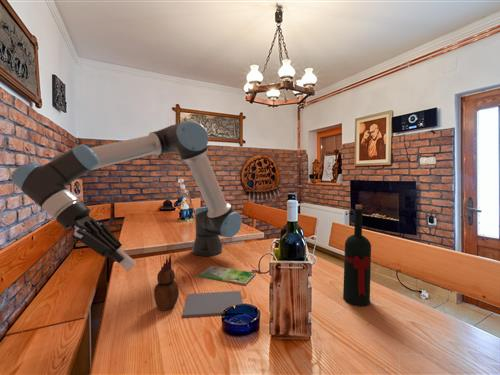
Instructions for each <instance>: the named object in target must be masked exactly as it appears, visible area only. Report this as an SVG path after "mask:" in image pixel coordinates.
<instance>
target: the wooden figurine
mask: <svg viewBox="0 0 500 375" xmlns="http://www.w3.org/2000/svg"><path fill="white" fill-rule="evenodd" d="M156 276H157V279H156V280H157V282H158V283H157V284H156V285H155V286H154V289H153V298H154V301H155V302H154V303H155V305H156V308H157V309H159V310H161V311H166V310H170V309H172V308H173V307H174V306H175V305H176V303H178V302H177V301H178V299H179V294H180V293H179V292H180V291H179V290H180V289H179V285H178V282H177V281H176V280H175V278H176V273H175V271H174V269H173V268H172V255H171V254H170V255H169V257H168V258H165V262H164V263H163V266H161V270H159V271H158V273H157V275H156Z"/></svg>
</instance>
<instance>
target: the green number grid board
mask: <svg viewBox="0 0 500 375" xmlns="http://www.w3.org/2000/svg"><path fill="white" fill-rule="evenodd" d="M250 272H251V271H247V270H240V269H233V268H228V267H223V266H217V265H216V266H215V265H210V266H209V267H208V268H206V269H205V270H204V271H202V272H200V273H199V274H198V277H200V278H204V279H205V278H206V279H208V280H215V281H220V282H221V281H222V282H224V283H225V282H226V283H231V284H235V285H241V286H245V287H246V286H247V285H248V284H249V283H250V280H251V279H252V280H253V279H254V277H255V276H256V275H257V273H256V272H253V274H250ZM255 274H256V275H255ZM254 275H255V276H254ZM253 276H254V277H253ZM252 280H251V281H252Z"/></svg>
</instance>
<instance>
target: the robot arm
mask: <svg viewBox="0 0 500 375" xmlns="http://www.w3.org/2000/svg"><path fill="white" fill-rule="evenodd" d="M208 144H209V134H208V132H207V130H206V128H205V126H203V124H202V123H199V121H195V120H185V121H184V120H183V121H181V122H178V123H175V124H172V125H169V126H167V127H164V128H162V129H159V130H156V131H152V132H149V133H148V134H147V135H145V136H140V137H135V138H131V139H130V138H129V139H125V140H120V141H116V142H112V143H111V142H110V143H106V144H102V145H97V146H94V147H93V146H92V147H89V146H88V145H86V144H81V143H80V144H78V145H77V146H74V147H72V148H71V149H69V150H68V151H66V152H64V153H63V152H62V153H58V154H56V155H55V156H53V158H52V159H51V161H49V162H47V163H45V164H41V163H39V162H38V161H30V162H28V163H23V164H21V165H20V166H18V167H17V168H15V169H14V170H13V171H12V173H11V175H10V180H11V181H12V183H13V184H15V186H16V187H18V189H19V190H20V191H21V192H23V194H24V195H26V196H27V197H28V198H29V199H30V200H31V201H33V203H36V204H37V205H38V206H39V207H40V208H41V209H42V210H44V211H45V212H46V214H47V215H49V216H51V218H53V219H55V221H56V222H57V223H58V224H59V226H61V227H62V228H64V229H66V230H68V229H69V230H70V229H72V231H73V232H74V233H73V234H71V238H72V239H75V240H77V241H79V242H80V243H82V244H83V245H85V246H86V247H88V248H90V250H93V251H94V252H96V253H97V254H98V255H100V256H101V257H104V258H105V259H109V257H111V258H112V259H113V260H114V261H115V262H117V264H118V265H120V266H121V267H122V268H124V270H125V271H126V272H129V271H130V270H132V268H133V267H134V266H135V265H136V264H137V262H136V261H135V260H134V259H133V258H132V257H131V256H130V255H129V254H127V252H125V251H124V250H123V249H122V248H121V247H122V246H123V244H122V243H121V241H120V240H119V239H118V238H117V237H116V235H114V234H113V232H112V231H111V230H110V229H109V228H108V226H107V225H106V224H105V221H103V220H100V221H97V220H96V219H94V218H93V217H91V216H90V214H91V209H90V208H89V206H87V205H86V204H85V203H84V202H83V201H80V198H78V196H76V195H75V194H74V193H73V192H72V191H70V190H69V189H68V188H67V187H66V186H68V185H70V184H71V183H72V182H74V181H75V180H77V179H79V178H81V177H82V176H84V175H85V174H87V173H88V172H90V171H94V170H97V169H101V168H104V167H108V166H113V165H115V164H120V163H124V162H127V161H130V160H131V161H132V160H135V159H140V158H142V157H147V156H151V155H153V154H154V155H156V156H159V155H163V154H164V155H165V154H174V153H175V154H176V153H177V154H178V155H179V157H180V160H181V161H183V162H185V163H187V165H188V168H189V170H190V171H191V172H190V173H191V175H192V176H193V178H194V181H195V183H196V185H197V188H198V190H199V191H200V194H201V196H202V199H203V201H204V203H205V205H206V206H199V207H197V208H196V209H195V213H194V215H195V216H194V218H195V237H194V241H193V244H192V249H191V250H192V254H193V255H195V256H201V257H209V256H210V257H212V256H216V255H219V254H221V253H222V252H223V244H222V242H221V238H220V236H221V237H224V238H233V237H235V236H236V235H237V234H239V232H240V229H241V226H242V224H243V221H242V216H241V215H240V213H238V212H237V211H234V210H233V207H232V205H231V203H229V202H227V201H226V199H225V197H224V196H225V195H224V194H223V191H222V189H221V187H220V185H219V182H218V180H217V177H216V175H215V173H214V169H213V167H212V165H211V162H210V160H209V157H208V155H207V153H208V151H209V149H208Z"/></svg>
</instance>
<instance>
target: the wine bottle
mask: <svg viewBox="0 0 500 375" xmlns="http://www.w3.org/2000/svg"><path fill="white" fill-rule="evenodd" d="M363 213H364V212H363V205H362V204H355V209H354V231H353V233H354V234H351V235H349V236H348V237H347V238H346V240H345V243H344V258H343V261H344V262H343V264H344V265H343V291H342V292H343V294H342V295H343V296H342V300H344V301H345V302H346V303H347V304H350V305H352V306H354V307H355V306H356V307H367V306H369V305H370V304H371V271H372V270H371V266H372V264H371V263H372V244H371V242H370V240H369V239H368V238H367V237H365V236H364V235H363Z"/></svg>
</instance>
